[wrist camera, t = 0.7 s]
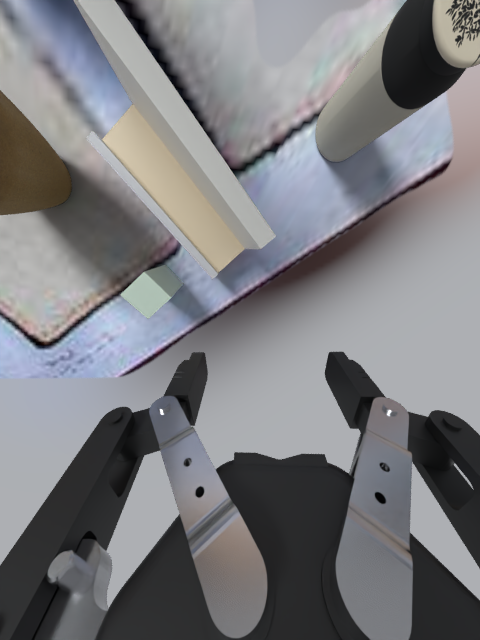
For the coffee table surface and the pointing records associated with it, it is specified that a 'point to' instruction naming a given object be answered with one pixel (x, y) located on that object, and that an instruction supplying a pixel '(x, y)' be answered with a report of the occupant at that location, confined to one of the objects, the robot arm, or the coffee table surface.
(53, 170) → the plant pot
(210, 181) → the white display stand
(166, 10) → the coffee table surface
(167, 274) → the pale green block
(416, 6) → the travel mug
